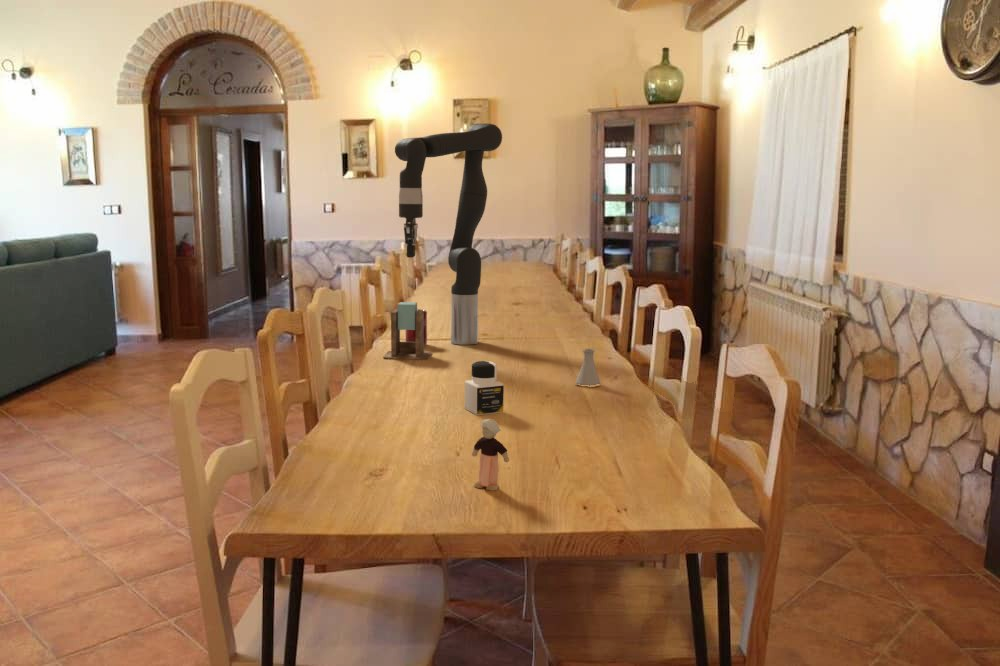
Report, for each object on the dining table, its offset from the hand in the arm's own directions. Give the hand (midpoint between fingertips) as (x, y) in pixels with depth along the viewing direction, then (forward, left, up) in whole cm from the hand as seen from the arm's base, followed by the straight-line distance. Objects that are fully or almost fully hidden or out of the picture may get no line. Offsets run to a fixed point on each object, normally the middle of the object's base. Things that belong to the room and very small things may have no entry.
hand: (410, 256), depth 271 cm
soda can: (0, -12, -31) cm, 33 cm away
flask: (-55, +43, -31) cm, 77 cm away
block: (0, +8, -22) cm, 23 cm away
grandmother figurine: (-32, +126, -31) cm, 134 cm away
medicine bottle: (-28, +73, -31) cm, 84 cm away
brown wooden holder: (0, +8, -31) cm, 32 cm away
